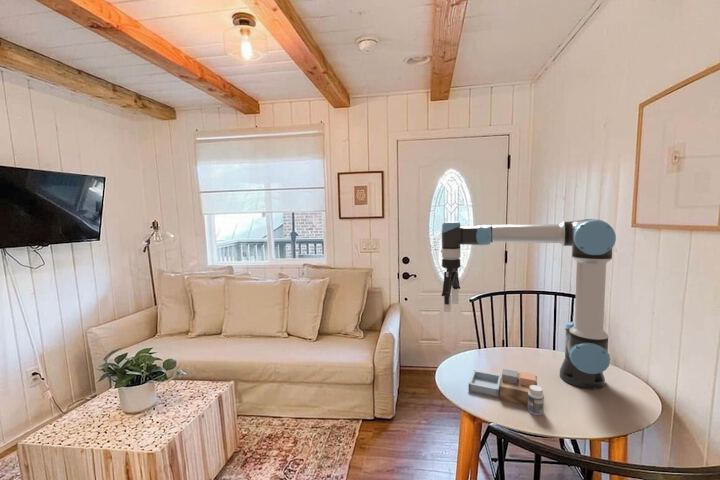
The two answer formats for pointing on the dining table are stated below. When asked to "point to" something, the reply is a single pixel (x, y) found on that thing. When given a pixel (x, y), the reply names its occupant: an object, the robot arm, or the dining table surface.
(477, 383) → the tray
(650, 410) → the dining table surface
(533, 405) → the pill bottle
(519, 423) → the dining table surface
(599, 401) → the dining table surface
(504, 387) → the brown block
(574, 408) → the dining table surface
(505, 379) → the slate-grey tile
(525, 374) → the terracotta tile
